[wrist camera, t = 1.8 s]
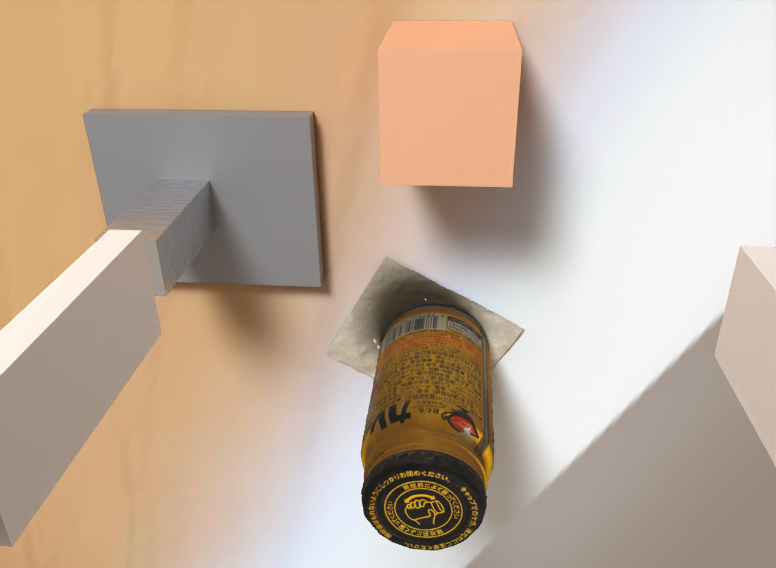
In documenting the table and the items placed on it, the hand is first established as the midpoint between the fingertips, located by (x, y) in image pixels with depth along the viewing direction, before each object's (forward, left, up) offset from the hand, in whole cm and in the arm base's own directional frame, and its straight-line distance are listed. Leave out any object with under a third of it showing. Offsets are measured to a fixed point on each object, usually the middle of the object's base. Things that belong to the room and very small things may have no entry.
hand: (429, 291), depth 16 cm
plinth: (+6, -12, -19) cm, 23 cm away
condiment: (+14, -1, -20) cm, 24 cm away
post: (+6, -13, -19) cm, 24 cm away
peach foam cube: (0, 0, -19) cm, 19 cm away
